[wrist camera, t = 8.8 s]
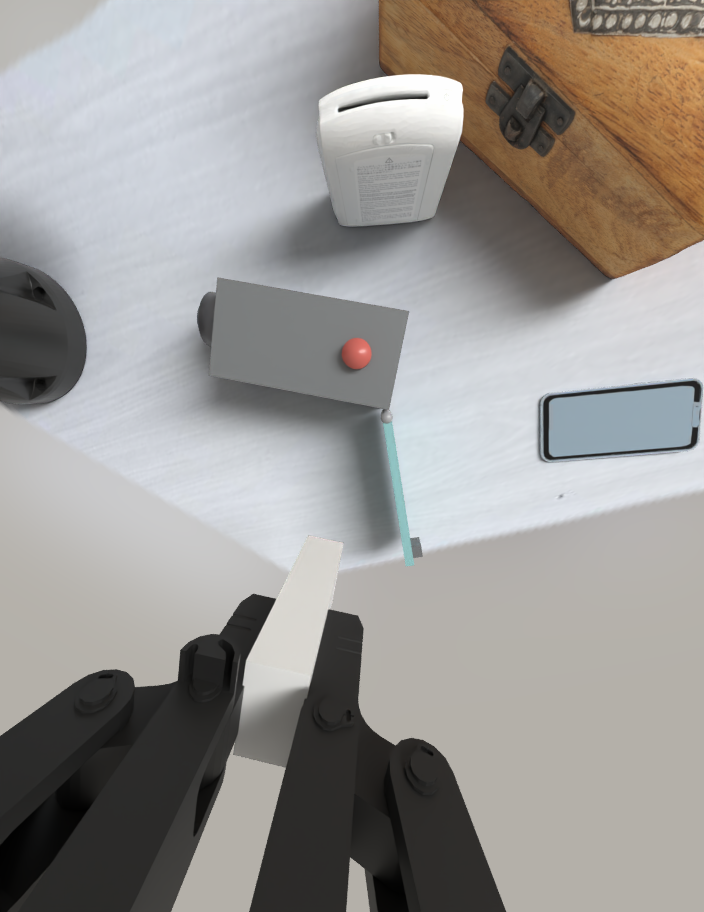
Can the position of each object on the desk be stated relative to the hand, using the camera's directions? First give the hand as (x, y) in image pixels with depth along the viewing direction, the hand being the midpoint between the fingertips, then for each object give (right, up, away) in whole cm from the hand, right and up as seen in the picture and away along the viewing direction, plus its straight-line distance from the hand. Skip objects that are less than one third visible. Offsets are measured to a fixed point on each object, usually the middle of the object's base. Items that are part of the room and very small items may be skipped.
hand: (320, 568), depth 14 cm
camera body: (-3, +16, +22) cm, 27 cm away
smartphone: (+29, +8, +21) cm, 37 cm away
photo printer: (+5, +29, +19) cm, 35 cm away
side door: (+7, +2, +23) cm, 24 cm away
